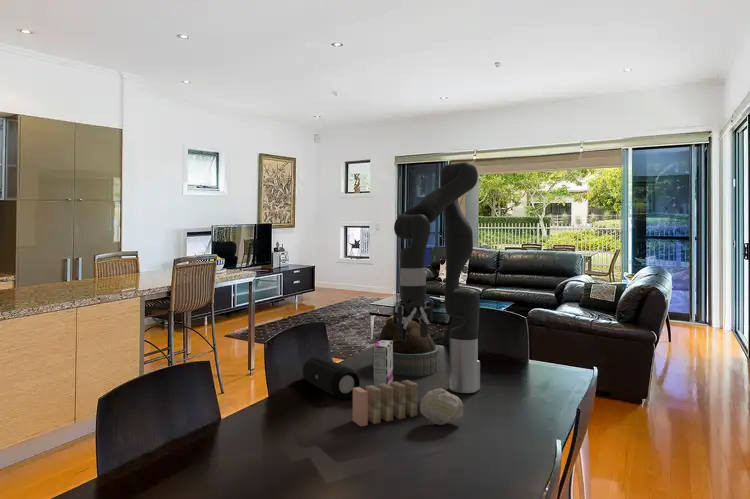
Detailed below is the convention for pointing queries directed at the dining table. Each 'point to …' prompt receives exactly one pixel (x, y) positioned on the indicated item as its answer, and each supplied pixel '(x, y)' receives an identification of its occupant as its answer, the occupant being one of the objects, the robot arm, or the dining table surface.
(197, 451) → the dining table surface
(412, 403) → the tile
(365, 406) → the tile
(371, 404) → the tile
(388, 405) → the tile
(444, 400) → the fossil replica
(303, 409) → the dining table surface
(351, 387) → the portable speaker
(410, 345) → the elephant in basket
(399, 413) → the tile
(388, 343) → the candy bar box
